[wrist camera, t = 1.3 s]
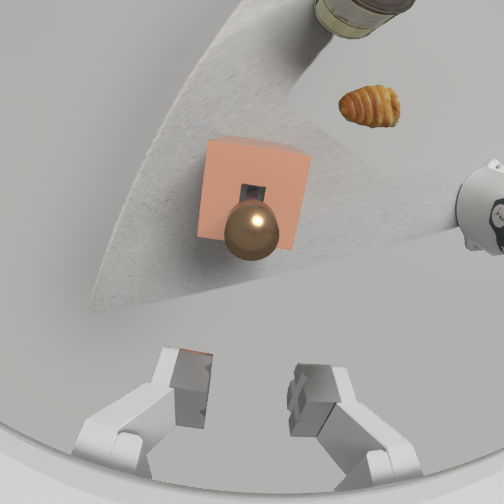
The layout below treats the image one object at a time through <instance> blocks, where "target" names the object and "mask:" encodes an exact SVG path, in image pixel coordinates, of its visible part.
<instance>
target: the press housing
mask: <svg viewBox="0 0 504 504" xmlns="http://www.w3.org/2000/svg"><path fill="white" fill-rule="evenodd" d="M310 159H311V156H309V155H308V154H306V153H304V152H302V151H300V150H298V149H296V148H294V147H292V146H290V145H284V144H278V143H272V142H266V141H260V140H254V139H247V138H240V137H232V136H224V135H223V136H220V137H217V138H214V139H211V140H208V146H207V153H206V161H205V169H204V177H203V185H202V194H201V203H200V213H199V222H198V233H197V237H203V238H210V239H217V240H224V241H225V239H224V231H225V226H226V222H227V218H228V215H229V213H230V211H231V210H232V209H233V207H234V206H236V205H237V204H238V203H239V198H240V192H241V185H242V184H249V185H256V186H262V187H265V192H264V198H263V203H265V204H267V205H268V206H269V207H270V208H271V209H272V210H273V212H274V214H275V216H276V220H277V224H278V228H279V241H278V244H277V246H276V248H280V249H287V250H292V247H293V242H294V237H295V233H296V228H297V223H298V219H299V214H300V209H301V204H302V199H303V194H304V189H305V184H306V179H307V174H308V169H309V164H310Z"/></svg>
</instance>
